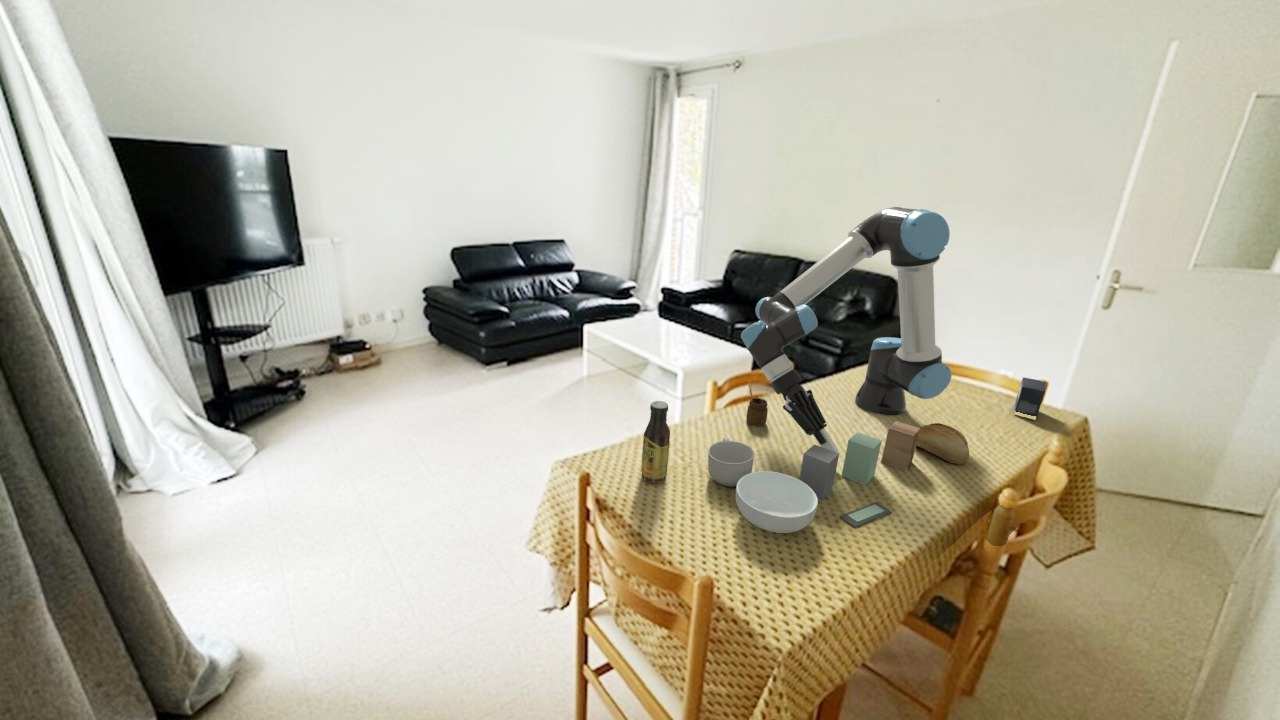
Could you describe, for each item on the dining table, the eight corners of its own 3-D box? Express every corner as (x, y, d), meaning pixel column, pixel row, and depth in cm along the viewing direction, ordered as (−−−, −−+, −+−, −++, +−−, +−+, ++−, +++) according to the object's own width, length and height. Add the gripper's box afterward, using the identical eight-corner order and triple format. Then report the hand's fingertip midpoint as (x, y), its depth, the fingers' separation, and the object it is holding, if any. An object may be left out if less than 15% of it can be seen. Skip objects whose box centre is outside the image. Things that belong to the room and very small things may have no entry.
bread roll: (919, 437, 152) (925, 413, 149) (974, 460, 140) (982, 434, 137) (902, 446, 146) (908, 420, 143) (957, 471, 135) (965, 443, 132)
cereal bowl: (763, 554, 102) (767, 524, 100) (718, 506, 116) (721, 478, 114) (830, 534, 109) (836, 505, 106) (780, 491, 123) (784, 465, 121)
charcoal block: (808, 480, 128) (814, 444, 124) (832, 490, 124) (839, 453, 121) (797, 490, 123) (803, 453, 120) (822, 501, 120) (829, 463, 116)
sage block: (850, 466, 135) (857, 432, 131) (874, 475, 131) (881, 440, 128) (841, 475, 130) (848, 440, 127) (865, 485, 127) (873, 448, 123)
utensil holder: (768, 427, 154) (773, 390, 150) (746, 426, 154) (751, 389, 150) (764, 418, 159) (768, 382, 155) (743, 417, 159) (747, 381, 155)
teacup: (750, 495, 121) (754, 465, 118) (703, 488, 123) (706, 458, 120) (750, 464, 134) (754, 437, 131) (708, 458, 136) (710, 431, 133)
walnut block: (888, 453, 142) (895, 420, 138) (911, 462, 138) (920, 428, 135) (881, 462, 137) (888, 428, 134) (905, 470, 134) (913, 436, 130)
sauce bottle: (636, 473, 128) (640, 399, 121) (660, 469, 130) (664, 396, 123) (647, 488, 122) (651, 411, 115) (671, 482, 124) (676, 407, 118)
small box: (1013, 404, 177) (1022, 376, 173) (1036, 410, 173) (1046, 381, 170) (1012, 415, 169) (1021, 385, 165) (1036, 421, 165) (1046, 390, 162)
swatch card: (876, 503, 120) (876, 500, 120) (891, 512, 117) (891, 510, 116) (839, 517, 114) (840, 515, 114) (854, 528, 111) (855, 525, 111)
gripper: (782, 375, 145) (831, 449, 141) (759, 388, 136) (810, 467, 132) (803, 362, 140) (854, 438, 136) (780, 374, 131) (835, 457, 127)
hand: (833, 453), depth 134 cm, fingers closed
